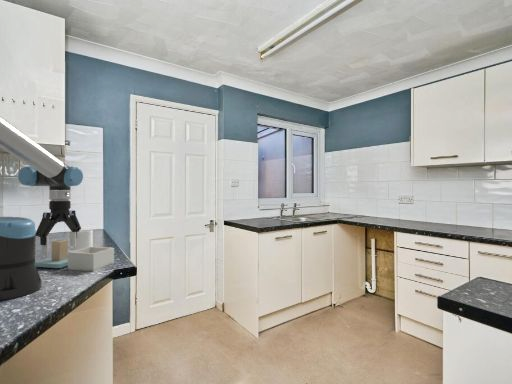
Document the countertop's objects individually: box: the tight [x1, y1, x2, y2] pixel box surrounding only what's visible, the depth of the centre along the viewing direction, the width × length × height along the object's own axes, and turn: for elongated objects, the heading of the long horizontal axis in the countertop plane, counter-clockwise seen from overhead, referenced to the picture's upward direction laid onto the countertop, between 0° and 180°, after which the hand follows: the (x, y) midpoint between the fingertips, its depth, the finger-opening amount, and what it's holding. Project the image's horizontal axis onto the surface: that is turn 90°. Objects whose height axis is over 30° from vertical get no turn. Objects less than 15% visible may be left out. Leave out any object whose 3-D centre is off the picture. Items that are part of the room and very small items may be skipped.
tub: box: [67, 246, 115, 272], centre depth 118 cm, size 12×12×7 cm
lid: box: [35, 239, 69, 269], centre depth 120 cm, size 13×13×10 cm
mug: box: [65, 229, 94, 251], centre depth 139 cm, size 12×8×12 cm
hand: (59, 249), depth 120 cm, fingers open, 13 cm apart
